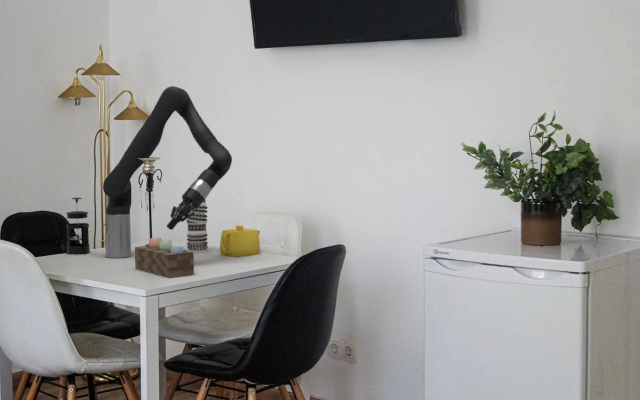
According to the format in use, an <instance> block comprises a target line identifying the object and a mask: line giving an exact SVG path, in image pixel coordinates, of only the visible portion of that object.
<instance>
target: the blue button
mask: <svg viewBox="0 0 640 400" xmlns="http://www.w3.org/2000/svg"><path fill="white" fill-rule="evenodd" d="M183 250H184V247H183V246H172V247H171V253H182V252H183Z"/></svg>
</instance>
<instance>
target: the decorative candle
mask: <svg viewBox="0 0 640 400" xmlns="http://www.w3.org/2000/svg"><path fill="white" fill-rule="evenodd" d="M206 199H207V198H206ZM206 199H205V200H204V201H203V202H202V204H201V205H200V206H199V207H198V208H197V209H195V208H194V209H193V212H194V214H193V215H192V216H190V217H189V218H187V219H186V220H185V221H186V224H187V234H186V237H187V239H186V240H187V242H186V244H187V246H186V248H187V249H186V251H191V252H193V253H205V252H208V248H209V247H208V234H207V230H208V229H207V224H208V219H207V217H208V214H207V213H208V210H207V209H208V208H209V207H208V206H207V202H206Z"/></svg>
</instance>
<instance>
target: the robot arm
mask: <svg viewBox="0 0 640 400" xmlns="http://www.w3.org/2000/svg"><path fill="white" fill-rule="evenodd" d="M175 112H176V113H177V114H178V115H179V116H180V118H182V119H183V120H184V121H185V123H186V124H187V127H188V129H189V131H190V133H191V135H192V137H193V139H194V140H195V142H196V144H197V145H198V146H199V148H200V149H201V150H202V151H203V153H205V154H208V155H209V156H210V157H211V159H212V162H211V163H210V164H209V166H208V168H205V169H204V170H203V171H202V172H201V173H200V175H199V176H198V177H197V178H196V179H195V180H194V181H193V182H192V183H191V184H190V186H189V187H187V189H186V191H184V193H183V194H182V196H181V199H182V201H181V202H180V203H179V204H178V206H175V205H173V207H172V208H171V214H170V218H171V220H169V222H168V223H167V224H166V228H167V229H169V230H173V231H174V228H175V227H176V226H177V225H178V223H179V224H180V223H183V222H184V221H186V220H187V219H188V218H189V217H190V216H192V215H193V214H194V212H193V209H194V208H195V209H197V208H198V207H199V206H200V205H201V204H202V202H203V201H204V200H205V199H207V197H208V196H209V195H210V193H211V192H212V190H213V189H214V188H215V186H217V184H218V183H219V181H220V180H222V178H223V177H224V176H225V175H226V174H227V173H228V171H229V170H230V169H231V166H232V162H233V157H232V155H231V153H230V151H229V150H228V149H227V147H225V146H224V145H223V144H222V143H221V142H220V141H218V139H217V138H216V136H215V134H214V133H213V132H212V131H211V129H210V128H209V127H208V125H207V124H206V123H205V121H204V120H203V119H202V116H201V115H200V114H199V112H198V110H197V108H196V107H195V105H194V103H193V101H192V99H191V97H190V94H189V93H188V92H187V91H186V90H185V89H184V88H181V87H178V86H174V85H173V86H172V85H171V86H168V87H166V88H165V89H164V90H163V91H162V93H161V94H160V96H159V97H158V100H157V101H156V104H155V105H154V108H153V110H152V111H151V113H150V114H149V115H148V117H147V118H146V120H145V121H144V123H143V124H142V126H141V127H140V129H139V130H138V131H137V133H136V135H135V136H134V138H133V139H132V141H131V142H130V144H129V146H128V147H127V148H126V150H125V151H124V153H123V155H122V157H121V159H120V160H119V161H118V163H117V164H116V165H115V167H113V169H112V170H111V171H110V172H109V174H108V175H107V176H106V177H105V179H104V180H103V183H102V190H103V193H104V194H105V195H106V196H107V197H108V205H107V207H106V210H105V211H106V212H105V213H106V214H105V215H106V233H105V234H104V236H105V237H104V238H105V239H104V240H105V257H106V258H113V259H118V258H119V259H120V258H122V259H123V258H129V257H131V256H132V240H131V239H132V238H131V237H132V236H131V235H132V233H131V232H132V231H131V207H132V182H131V178H132V177H133V175H134V174H135V172H136V171H137V170H138V169H139V168H140V167H141V166H143V165H144V164H145V162H143V161H142V160H140V159H138V158H148V159H149V158H150V157H151V156H152V154H154V152H155V151H156V149H157V147H158V146H159V144H160V142H161V140H162V137H163V134H164V130H165V126H166V124H167V122H168V120H169V119H170V118H171V117H172V115H173V113H175ZM205 201H206V200H205Z"/></svg>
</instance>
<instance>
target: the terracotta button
mask: <svg viewBox="0 0 640 400" xmlns="http://www.w3.org/2000/svg"><path fill="white" fill-rule="evenodd" d="M160 241H162V237H161V238H160V237H152V238H149V239H148V246H149V248H160Z"/></svg>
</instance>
